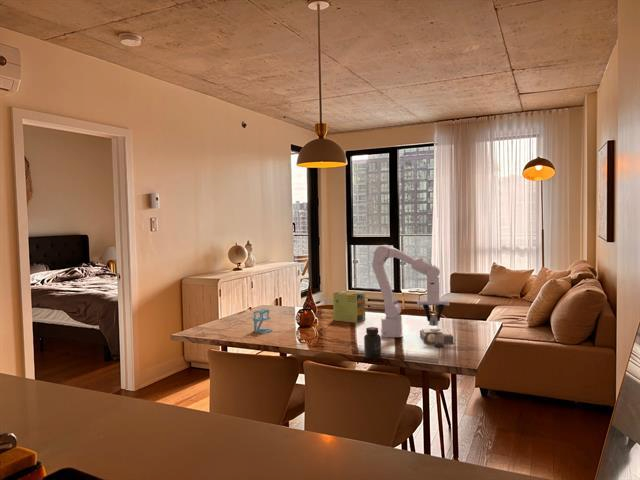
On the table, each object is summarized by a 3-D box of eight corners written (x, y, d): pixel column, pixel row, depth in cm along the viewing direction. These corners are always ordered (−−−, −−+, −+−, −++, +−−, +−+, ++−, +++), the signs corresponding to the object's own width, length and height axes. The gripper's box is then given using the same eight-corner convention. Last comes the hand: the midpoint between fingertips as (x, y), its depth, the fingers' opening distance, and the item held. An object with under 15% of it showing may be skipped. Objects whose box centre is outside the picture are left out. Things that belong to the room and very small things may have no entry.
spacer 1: (429, 325, 227) (429, 314, 227) (429, 323, 231) (429, 313, 231) (437, 325, 226) (437, 315, 226) (438, 324, 230) (438, 313, 230)
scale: (425, 344, 219) (425, 333, 219) (420, 336, 234) (419, 326, 234) (454, 344, 218) (454, 333, 218) (447, 336, 233) (447, 325, 233)
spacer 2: (435, 348, 212) (435, 336, 212) (433, 345, 216) (433, 334, 216) (444, 347, 212) (444, 336, 212) (443, 345, 216) (443, 334, 216)
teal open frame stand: (260, 329, 255) (259, 306, 255) (272, 331, 251) (272, 307, 251) (250, 332, 249) (249, 309, 248) (263, 334, 244) (263, 310, 244)
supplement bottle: (379, 355, 203) (379, 326, 202) (382, 359, 196) (382, 329, 195) (363, 355, 202) (363, 326, 202) (365, 360, 196) (365, 330, 195)
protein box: (357, 323, 268) (357, 294, 267) (333, 320, 276) (332, 293, 275) (365, 319, 277) (365, 292, 276) (342, 317, 285) (341, 290, 284)
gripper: (418, 293, 225) (418, 322, 226) (450, 292, 224) (450, 322, 225) (416, 291, 232) (416, 319, 233) (447, 290, 231) (447, 319, 232)
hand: (433, 320), depth 229 cm, fingers closed on spacer 1, 4 cm apart
